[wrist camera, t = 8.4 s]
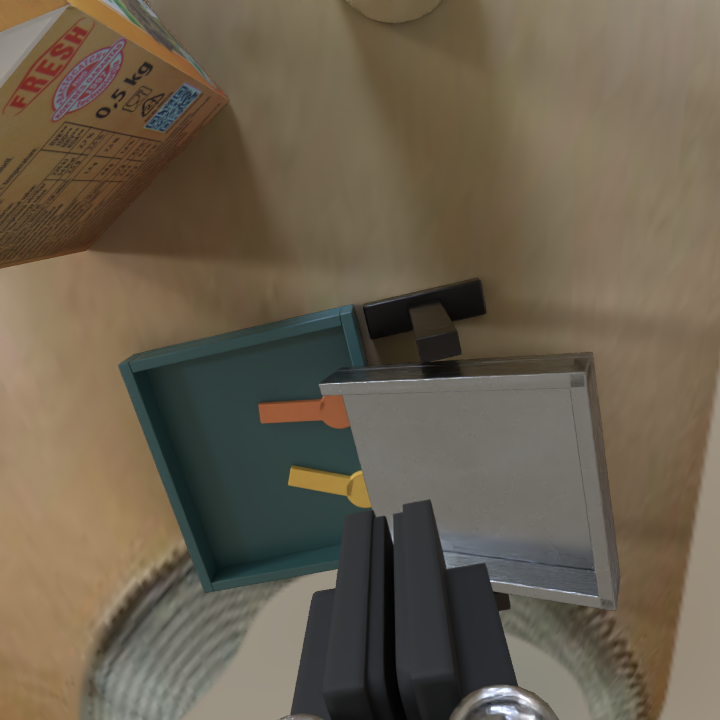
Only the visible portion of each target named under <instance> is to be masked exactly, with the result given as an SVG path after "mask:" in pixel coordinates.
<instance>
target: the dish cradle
mask: <svg viewBox="0 0 720 720" xmlns="http://www.w3.org/2000/svg"><path fill="white" fill-rule="evenodd" d="M363 310H364V314H365V318H366V322H367V326H368V330H369V335H370V338H371V339H377V338H381V337H386V336H390V335H395V334H399V333H404V332H408V331H413V332H414V336H415V340H416V344H417V348H418V352H419V356H420V360H421V363H425V362H429V361H434V360H439V359H443V358H448V357H453V356H457V355H461V354H462V353H461V347H460V342H459V337H458V332H457V330H456V328H455V326H454V325H453V323H452V322H453V321H458V320H462V319H467V318H471V317H476V316H480V315H485V314H486V306H485V300H484V295H483V289H482V283H481V280H480V279H479V278H474V279H470V280H465V281H461V282H457V283H452V284H448V285H443V286H439V287H435V288H430V289H426V290H422V291H417V292H413V293H409V294H404V295H400V296H395V297H391V298H387V299H382V300H378V301H374V302H369V303H365V304H364V305H363ZM493 593H494V597H495V601H496V604H497V608H498V611H502V610H507V609H510V601H509V596H508V594H506V593H499V592H493Z"/></svg>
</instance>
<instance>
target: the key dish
mask: <svg viewBox="0 0 720 720" xmlns="http://www.w3.org/2000/svg"><path fill="white" fill-rule="evenodd" d="M319 388H320V391H321V395H322V396H330V395H342V397H343V401H344V405H345V408H346V412H347V416H348V420H349V424H350V427H351V431H352V435H353V439H354V443H355V446H356V450H357V454H358V458H359V462H360V465H361V469H362V473H363V477H364V481H365V484H366V488H367V492H368V496H369V500H370V503H371V507H372V510H373V511H374V512H375V515H376V517H379V516H386V519H387V522H388V526H389V529H390V533H391V537H392V541H393V545H394V539H393V514H395V513H401V512H403V504H407V503H412V502H418V501H423V500H429V499H430V500H431V503H432V507H433V511H434V516H435V520H436V524H437V529H438V533H439V537H440V541H441V546H442V550H443V554H444V559H445V563H446V567H447V569H451V568H456V567H462V566H468V565H474V564H480V563H486V567H487V570H488V574H489V578H490V582H491V585H492V589H493V592H499V593H506V594H512V595H518V596H524V597H531V598H537V599H543V600H549V601H556V602H562V603H568V604H574V605H580V606H587V607H593V608H599V609H605V610H611V611H616V607H617V599H618V591H619V583H620V570H619V562H618V554H617V546H616V537H615V529H614V521H613V513H612V505H611V497H610V489H609V480H608V472H607V464H606V456H605V448H604V440H603V431H602V423H601V415H600V407H599V399H598V391H597V383H596V374H595V366H594V358H593V353H592V352H581V353H565V354H549V355H532V356H516V357H500V358H484V359H468V360H451V361H435V362H425V363H421V362H419V363H403V364H387V365H370V366H354V367H341V368H339V369H338V370H336V371H335V372H334V373H332V374H331V375H330V376H328V377H327V378H326V379H324V380H323V381H322V382H320V383H319Z"/></svg>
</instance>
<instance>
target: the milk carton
mask: <svg viewBox="0 0 720 720" xmlns="http://www.w3.org/2000/svg"><path fill="white" fill-rule="evenodd" d="M228 101H229V99H228V97H227V96H226V95H225V94H224V93H223V92H222V91H221V89H220V88H219V87H218V86H217V85H216V84H215V82H214V81H213V80H212V79H211V78H210V77H209V76H208V74H207V73H206V72H205V71H204V70H203V69H202V68H201V66H200V65H199V64H198V63H197V62H196V61H195V59H194V58H193V57H192V56H191V55H190V54H189V53H188V51H187V50H186V49H185V48H184V47H183V46H182V45H181V43H180V42H179V41H178V40H177V39H176V38H175V36H174V35H173V34H172V33H171V32H170V31H169V30H168V28H167V27H166V26H165V25H164V24H163V23H162V22H161V20H160V19H159V18H158V17H157V16H156V15H155V13H154V12H153V11H152V10H151V9H150V8H149V7H148V5H147V4H146V3H145V2H144V1H143V0H0V269H1V268H5V267H10V266H15V265H20V264H24V263H29V262H34V261H39V260H44V259H48V258H53V257H58V256H63V255H68V254H72V253H77V252H82V251H86V250H87V249H88V248H89V247H90V246H91V245H92V244H93V243H94V241H95V240H96V239H97V238H98V237H99V236H100V235H101V234H102V233H103V232H104V231H105V230H106V229H107V228H108V227H109V226H110V225H111V224H112V223H113V222H114V221H115V220H116V218H117V217H118V216H119V215H120V214H121V213H122V212H123V211H124V210H125V209H126V208H127V207H128V206H129V205H130V204H131V203H132V202H133V201H134V200H135V199H136V198H137V197H138V195H139V194H140V193H141V192H142V191H143V190H144V189H145V188H146V187H147V186H148V185H149V184H150V183H151V182H152V181H153V180H154V179H155V178H156V177H157V176H158V175H159V174H160V172H161V171H162V170H163V169H164V168H165V167H166V166H167V165H168V164H169V163H170V162H171V161H172V160H173V159H174V158H175V157H176V156H177V155H178V154H179V153H180V152H181V151H182V150H183V148H184V147H185V146H186V145H187V144H188V143H189V142H190V141H191V140H192V139H193V138H194V137H195V136H196V135H197V134H198V133H199V132H200V131H201V130H202V129H203V128H204V127H205V125H206V124H207V123H208V122H209V121H210V120H211V119H212V118H213V117H214V116H215V115H216V114H217V113H218V112H219V111H220V110H221V109H222V108H223V107H224V106H225V105H226V104H227V102H228Z"/></svg>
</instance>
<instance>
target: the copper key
mask: <svg viewBox="0 0 720 720" xmlns="http://www.w3.org/2000/svg"><path fill="white" fill-rule="evenodd" d="M259 413H260V420H261V423H280V422H298V421H317V420H323V421H324V422H325V423H326V424H327V425H329V426H330V427H333V428H337V429H342V428H347V427H349V426H350V424H349V420H348V416H347V412H346V408H345V405H344V401H343V397H342V395H330V396H323V397H322V399H312V400H294V401H277V402H260V403H259Z"/></svg>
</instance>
